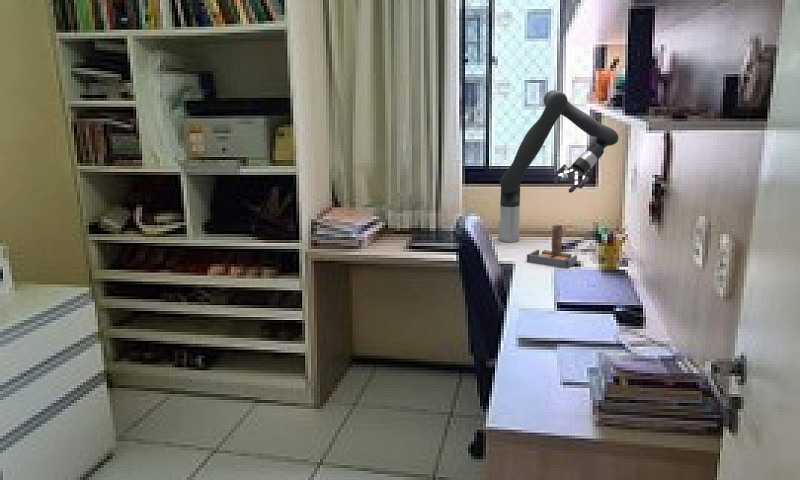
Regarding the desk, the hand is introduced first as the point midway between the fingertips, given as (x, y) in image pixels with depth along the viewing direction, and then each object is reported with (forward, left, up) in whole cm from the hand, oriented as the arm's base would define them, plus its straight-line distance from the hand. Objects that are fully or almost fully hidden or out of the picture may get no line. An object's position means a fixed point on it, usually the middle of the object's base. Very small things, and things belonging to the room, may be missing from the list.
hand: (561, 187), depth 267 cm
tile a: (+5, -29, -27) cm, 40 cm away
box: (+9, -29, -27) cm, 41 cm away
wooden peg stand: (+9, -25, -27) cm, 38 cm away
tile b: (+12, -29, -27) cm, 41 cm away
